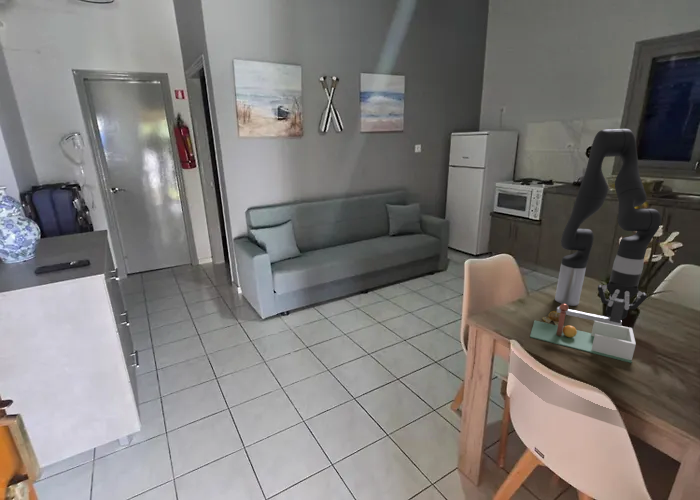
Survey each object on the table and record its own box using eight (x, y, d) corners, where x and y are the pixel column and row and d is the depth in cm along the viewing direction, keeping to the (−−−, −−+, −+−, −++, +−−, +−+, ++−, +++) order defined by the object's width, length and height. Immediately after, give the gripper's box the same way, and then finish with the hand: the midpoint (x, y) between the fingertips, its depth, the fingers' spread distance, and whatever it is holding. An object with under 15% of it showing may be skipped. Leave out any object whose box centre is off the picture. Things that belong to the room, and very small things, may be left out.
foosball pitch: (534, 321, 143) (536, 306, 141) (627, 342, 128) (631, 326, 126) (529, 337, 132) (532, 321, 130) (631, 363, 116) (636, 345, 115)
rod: (553, 329, 135) (561, 288, 130) (614, 344, 126) (625, 300, 120) (552, 334, 132) (560, 292, 127) (615, 349, 122) (626, 304, 117)
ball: (562, 332, 134) (564, 321, 133) (575, 335, 132) (578, 325, 130) (561, 337, 131) (563, 327, 129) (575, 341, 128) (577, 330, 127)
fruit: (540, 321, 143) (541, 313, 142) (547, 314, 149) (548, 306, 148) (563, 329, 138) (565, 320, 137) (569, 321, 143) (571, 313, 142)
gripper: (653, 269, 116) (640, 317, 121) (600, 262, 123) (590, 307, 128) (656, 277, 110) (642, 327, 115) (601, 268, 117) (590, 316, 122)
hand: (615, 316), depth 122 cm, fingers closed on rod, 3 cm apart
